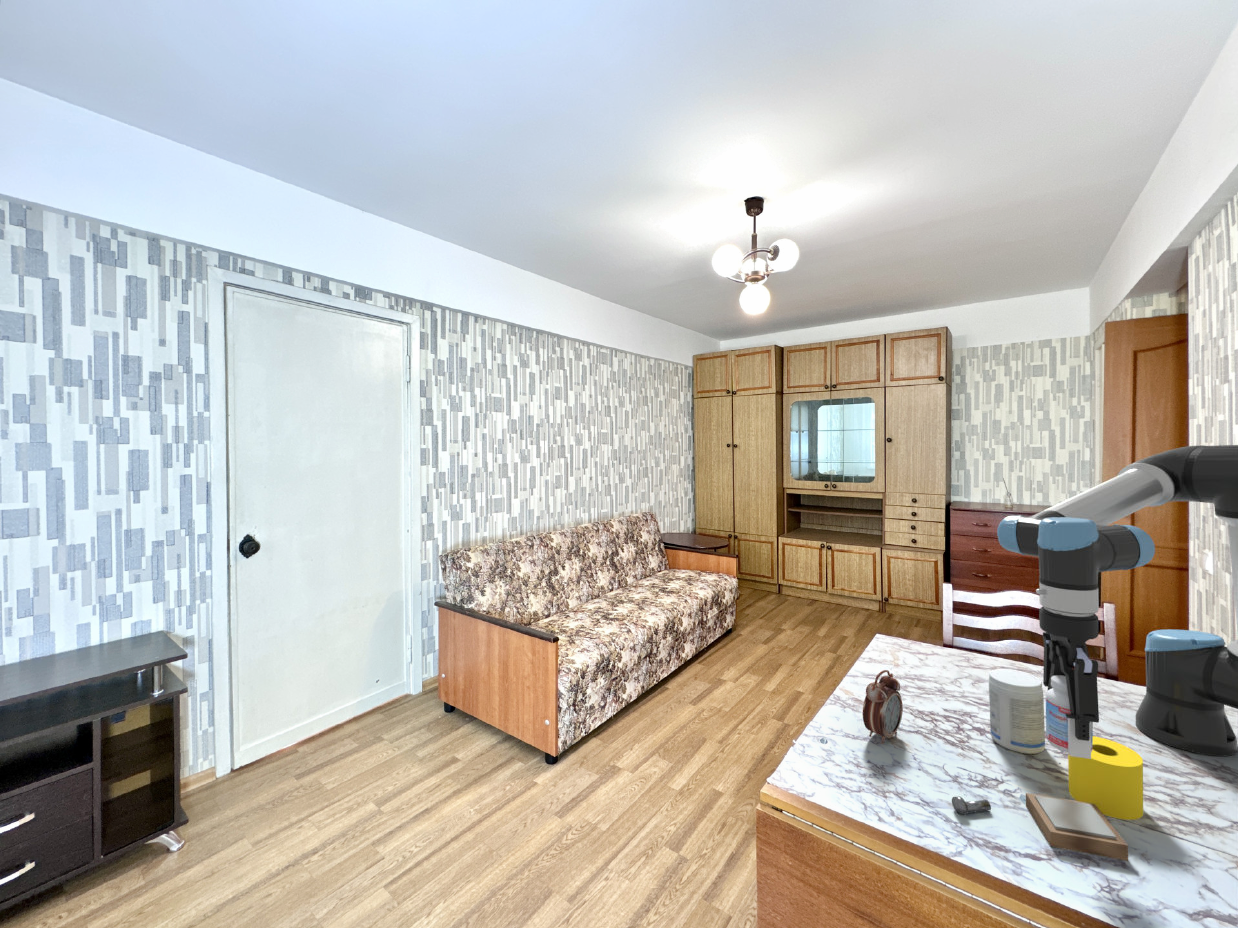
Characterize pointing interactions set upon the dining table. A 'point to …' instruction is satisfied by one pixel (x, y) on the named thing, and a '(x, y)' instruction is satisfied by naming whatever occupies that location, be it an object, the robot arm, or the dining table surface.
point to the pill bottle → (1059, 714)
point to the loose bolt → (969, 805)
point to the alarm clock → (883, 706)
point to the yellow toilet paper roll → (1109, 779)
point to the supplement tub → (1017, 710)
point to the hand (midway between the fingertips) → (1069, 744)
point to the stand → (1076, 826)
